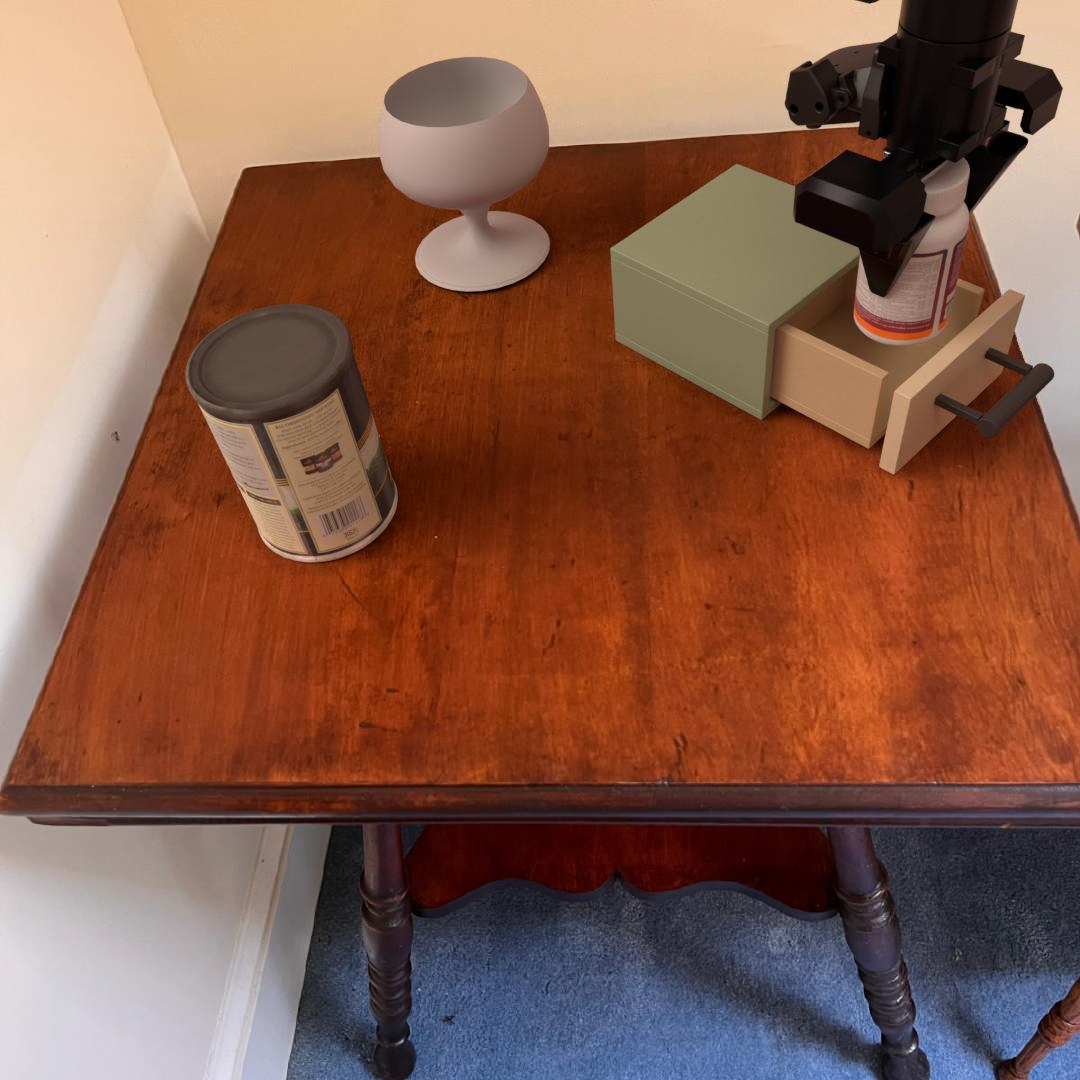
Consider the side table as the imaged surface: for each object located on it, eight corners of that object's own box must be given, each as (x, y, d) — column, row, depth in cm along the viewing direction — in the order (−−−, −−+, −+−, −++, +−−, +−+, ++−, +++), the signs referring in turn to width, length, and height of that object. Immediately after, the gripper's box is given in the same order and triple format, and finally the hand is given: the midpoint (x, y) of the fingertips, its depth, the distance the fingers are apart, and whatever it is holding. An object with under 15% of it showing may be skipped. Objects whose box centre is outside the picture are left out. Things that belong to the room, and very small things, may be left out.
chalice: (591, 234, 93) (578, 68, 82) (497, 320, 86) (470, 152, 75) (470, 196, 99) (443, 37, 88) (374, 273, 92) (331, 112, 81)
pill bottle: (907, 280, 72) (931, 127, 63) (969, 326, 68) (1003, 171, 59) (833, 313, 71) (848, 163, 62) (891, 362, 67) (915, 209, 58)
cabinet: (879, 322, 81) (896, 225, 74) (761, 420, 75) (769, 325, 69) (732, 255, 89) (736, 163, 82) (615, 340, 83) (609, 248, 76)
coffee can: (319, 441, 79) (262, 286, 68) (426, 485, 74) (384, 328, 64) (226, 531, 73) (149, 379, 63) (335, 585, 69) (273, 431, 58)
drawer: (1061, 400, 72) (1090, 321, 67) (954, 507, 67) (977, 431, 62) (844, 302, 82) (855, 226, 76) (735, 389, 76) (738, 314, 71)
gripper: (920, -69, 63) (883, 169, 74) (722, 51, 55) (715, 293, 67) (1100, -31, 57) (1029, 220, 68) (904, 108, 49) (862, 363, 61)
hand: (907, 270), depth 66 cm, fingers closed on pill bottle, 6 cm apart
